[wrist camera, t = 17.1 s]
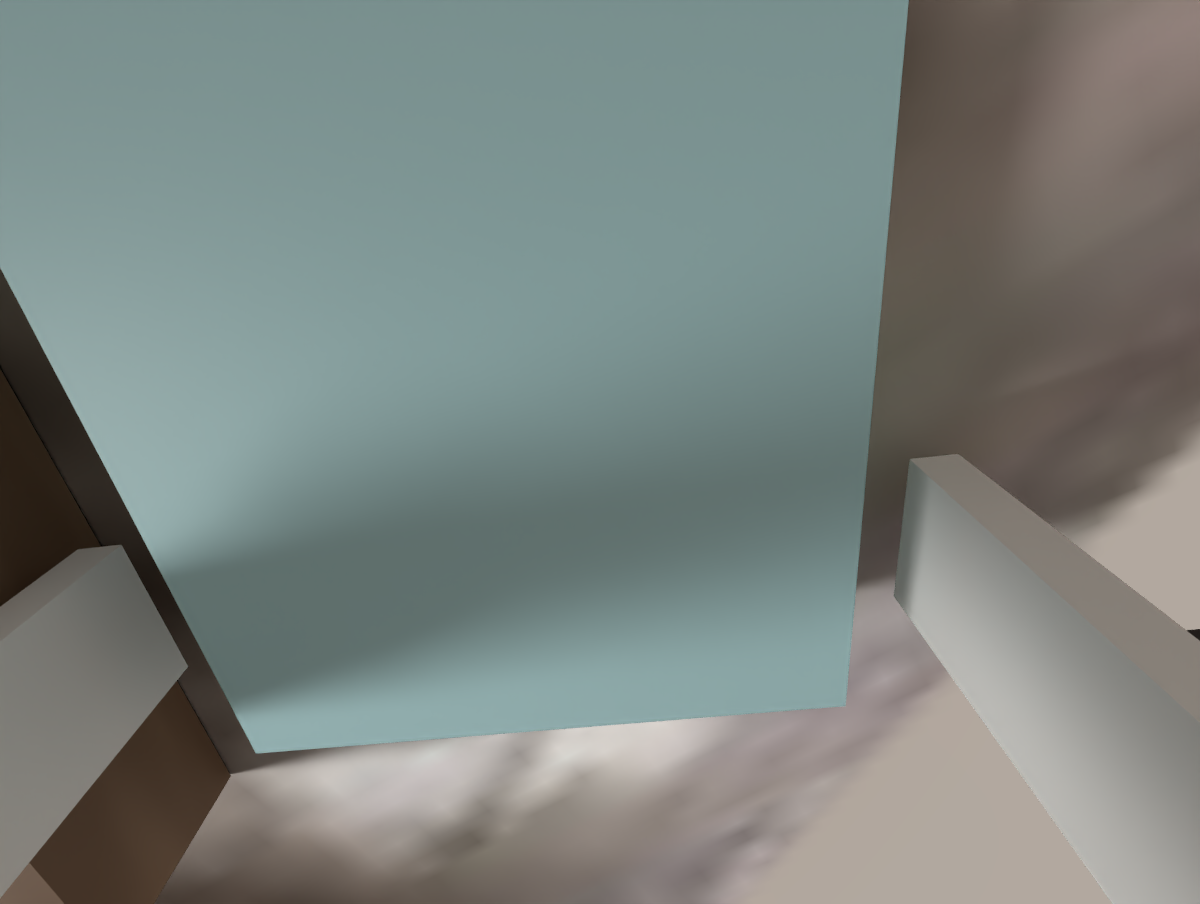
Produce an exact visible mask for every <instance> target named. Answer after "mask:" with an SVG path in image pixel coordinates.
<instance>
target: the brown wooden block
mask: <svg viewBox="0 0 1200 904" xmlns="http://www.w3.org/2000/svg"><path fill="white" fill-rule="evenodd" d="M95 547H101V546H100V544H99V542H98V541H97V539H96V537H95V535H94V533H93V532H92V530H91V528H90V526H89V525H88V523H87V521H86V519H85V518H84V516H83V514H82V512H81V510H80V509H79V507H78V505H77V503H76V502H75V500H74V498H73V496H72V495H71V493H70V491H69V489H68V488H67V486H66V484H65V482H64V480H63V479H62V477H61V475H60V473H59V472H58V470H57V468H56V466H55V465H54V463H53V461H52V459H51V457H50V456H49V454H48V452H47V450H46V449H45V447H44V445H43V443H42V442H41V440H40V438H39V436H38V435H37V433H36V431H35V429H34V427H33V426H32V424H31V422H30V420H29V419H28V417H27V415H26V413H25V412H24V410H23V408H22V406H21V404H20V403H19V401H18V399H17V397H16V396H15V394H14V392H13V390H12V389H11V387H10V385H9V383H8V382H7V380H6V378H5V376H4V374H3V373H2V371H1V369H0V607H1V606H2V605H3V604H5V603H6V602H7V601H9V600H10V599H11V598H13V597H14V596H15V595H17V594H18V593H19V592H21V591H22V590H24V589H25V588H26V587H28V586H29V585H30V584H32V583H33V582H34V581H36V580H37V579H38V578H40V577H41V576H42V575H44V574H45V573H47V572H48V571H49V570H51V569H52V568H53V567H55V566H56V565H57V564H59V563H60V562H61V561H63V560H64V559H65V558H67V557H68V556H70V555H71V554H72V553H74V552H75V551H76V550H78V549H86V548H95ZM230 776H231V775H230V774H229V772H228V770H227V768H226V767H225V765H224V763H223V761H222V760H221V758H220V756H219V754H218V753H217V751H216V749H215V747H214V745H213V744H212V742H211V740H210V738H209V737H208V735H207V733H206V731H205V730H204V728H203V726H202V724H201V722H200V721H199V719H198V717H197V715H196V714H195V712H194V710H193V708H192V707H191V705H190V703H189V701H188V700H187V698H186V696H185V694H184V692H183V691H182V689H181V687H180V685H179V684H178V682H177V681H176V682H175V683H174V685H173V686H172V687H171V688H170V690H169V691H168V692H167V693H166V695H165V696H164V697H163V698H162V699H161V701H160V702H159V703H158V704H157V706H156V707H155V708H154V709H153V711H152V712H151V713H150V714H149V715H148V717H147V718H146V719H145V720H144V722H143V723H142V724H141V725H140V727H139V728H138V729H137V730H136V732H135V733H134V734H133V735H132V736H131V738H130V739H129V740H128V741H127V743H126V744H125V745H124V746H123V748H122V749H121V750H120V751H119V752H118V754H117V755H116V756H115V757H114V759H113V760H112V761H111V762H110V764H109V765H108V766H107V767H106V769H105V770H104V771H103V772H102V773H101V775H100V776H99V777H98V778H97V780H96V781H95V782H94V783H93V785H92V786H91V787H90V788H89V789H88V791H87V792H86V793H85V794H84V796H83V797H82V798H81V799H80V801H79V802H78V803H77V804H76V806H75V807H74V808H73V809H72V810H71V812H70V813H69V814H68V815H67V817H66V818H65V819H64V820H63V822H62V823H61V824H60V825H59V826H58V828H57V829H56V830H55V831H54V833H53V834H52V835H51V836H50V838H49V839H48V840H47V841H46V843H45V844H44V845H43V846H42V847H41V849H40V850H39V851H38V852H37V854H36V855H35V856H34V857H33V859H32V860H31V861H30V862H29V863H28V865H27V866H26V867H25V868H24V870H23V871H22V872H21V873H20V875H19V876H18V877H17V878H16V879H15V881H14V882H13V883H12V884H11V886H10V887H9V888H8V889H7V891H6V892H5V893H4V894H3V896H2V897H1V898H0V904H154V903H155V901H156V899H157V898H158V896H159V894H160V893H161V891H162V889H163V888H164V886H165V884H166V883H167V881H168V879H169V878H170V876H171V874H172V873H173V871H174V869H175V868H176V866H177V864H178V863H179V861H180V859H181V858H182V856H183V854H184V853H185V851H186V849H187V848H188V846H189V844H190V843H191V841H192V839H193V838H194V836H195V835H196V833H197V831H198V830H199V828H200V826H201V825H202V823H203V821H204V820H205V818H206V816H207V815H208V813H209V811H210V810H211V808H212V806H213V805H214V803H215V801H216V800H217V798H218V796H219V795H220V793H221V791H222V790H223V788H224V786H225V785H226V783H227V781H228V780H229V778H230Z"/></svg>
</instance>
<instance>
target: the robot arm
mask: <svg viewBox="0 0 1200 904" xmlns="http://www.w3.org/2000/svg"><path fill="white" fill-rule="evenodd" d="M894 597H895V598H896V600H897V601H898V603H899V604H900V605H901V607H902V608H903V610H904V611H905V612H906V614H907V615H908V617H909V618H910V619H911V621H912V622H913V624H914V625H915V626H916V628H917V629H918V631H919V632H920V634H921V635H922V636H923V638H924V639H925V641H926V642H927V643H928V645H929V646H930V648H931V649H932V650H933V652H934V653H935V655H936V656H937V657H938V659H939V660H940V662H941V663H942V665H943V666H944V667H945V669H946V670H947V672H948V673H949V674H950V676H951V677H952V679H953V680H954V681H955V683H956V684H957V686H958V687H959V688H960V690H961V691H962V693H963V694H964V696H965V697H966V698H967V700H968V701H969V703H970V704H971V705H972V707H973V708H974V710H975V711H976V712H977V714H978V715H979V717H980V718H981V719H982V721H983V722H984V724H985V725H986V727H987V728H988V729H989V731H990V732H991V733H992V735H993V736H994V738H995V739H996V741H997V742H998V743H999V745H1000V746H1001V748H1002V749H1003V750H1004V752H1005V753H1006V755H1007V756H1008V757H1009V759H1010V760H1011V762H1012V763H1013V765H1014V766H1015V767H1016V769H1017V770H1018V772H1019V773H1020V774H1021V776H1022V777H1023V779H1024V780H1025V781H1026V783H1027V784H1028V786H1029V787H1030V789H1031V790H1032V791H1033V793H1034V794H1035V796H1036V797H1037V798H1038V800H1039V801H1040V802H1041V804H1042V805H1043V807H1044V808H1045V810H1046V811H1047V812H1048V814H1049V815H1050V817H1051V818H1052V820H1053V821H1054V822H1055V824H1056V825H1057V826H1058V828H1059V829H1060V831H1061V832H1062V834H1063V835H1064V836H1065V838H1066V839H1067V841H1068V842H1069V843H1070V845H1071V846H1072V847H1073V849H1074V851H1075V852H1076V853H1077V855H1078V856H1079V857H1080V859H1081V860H1082V862H1083V863H1084V864H1085V866H1086V867H1087V869H1088V870H1089V871H1090V873H1091V874H1092V876H1093V877H1094V879H1095V880H1096V882H1097V883H1098V884H1099V886H1100V887H1101V889H1102V890H1103V891H1104V893H1105V894H1106V896H1107V897H1108V898H1109V900H1110V901H1111V903H1112V904H1200V629H1196V630H1185V629H1184V628H1182V627H1181V626H1180V625H1178V624H1177V623H1176V622H1175V621H1173V620H1172V619H1171V618H1170V617H1168V616H1167V615H1166V614H1164V613H1163V612H1162V611H1161V610H1159V609H1158V608H1157V607H1155V606H1154V605H1153V604H1152V603H1150V602H1149V601H1147V600H1146V599H1145V598H1144V597H1142V596H1141V595H1140V594H1139V593H1137V592H1136V591H1135V590H1133V589H1132V588H1131V587H1130V586H1128V585H1127V584H1126V583H1124V582H1123V581H1122V580H1121V579H1119V578H1118V577H1117V576H1115V575H1114V574H1113V573H1111V572H1110V571H1109V570H1108V569H1106V568H1105V567H1104V566H1102V565H1101V564H1100V563H1098V562H1097V561H1096V560H1095V559H1093V558H1092V557H1091V556H1090V555H1088V554H1087V553H1086V552H1084V551H1083V550H1082V549H1080V548H1079V547H1078V546H1077V545H1075V544H1074V543H1073V542H1071V541H1070V540H1069V539H1068V538H1066V537H1065V536H1064V535H1062V534H1061V533H1060V532H1059V531H1057V530H1056V529H1055V528H1053V527H1052V526H1051V525H1050V524H1048V523H1047V522H1046V521H1044V520H1043V519H1042V518H1040V517H1039V516H1038V515H1037V514H1035V513H1034V512H1033V511H1031V510H1030V509H1029V508H1028V507H1026V506H1025V505H1024V504H1022V503H1021V502H1020V501H1019V500H1017V499H1016V498H1015V497H1013V496H1012V495H1011V494H1009V493H1008V492H1007V491H1006V490H1004V489H1003V488H1002V487H1000V486H999V485H998V484H997V483H995V482H994V481H993V480H991V479H990V478H989V477H988V476H986V475H985V474H984V473H982V472H981V471H980V470H978V469H977V468H976V467H975V466H973V465H972V464H971V463H969V462H968V461H967V460H966V459H964V458H963V457H962V456H960V455H959V454H952V455H943V456H934V457H924V458H915V459H910V461H909V470H908V478H907V487H906V496H905V504H904V513H903V521H902V530H901V538H900V547H899V555H898V564H897V573H896V581H895V590H894ZM187 667H188V665H187V663H186V662H185V660H184V658H183V656H182V654H181V653H180V651H179V649H178V647H177V645H176V643H175V642H174V640H173V638H172V636H171V634H170V632H169V631H168V629H167V627H166V625H165V623H164V621H163V620H162V618H161V616H160V614H159V612H158V611H157V609H156V607H155V605H154V603H153V601H152V600H151V598H150V596H149V594H148V592H147V590H146V589H145V587H144V585H143V583H142V581H141V580H140V578H139V576H138V574H137V572H136V570H135V569H134V567H133V565H132V563H131V561H130V559H129V558H128V556H127V554H126V552H125V550H124V548H123V547H122V545H114V546H104V547H95V548H86V549H78V550H76V551H75V552H74V553H72V554H71V555H70V556H68V557H67V558H65V559H64V560H63V561H61V562H60V563H59V564H57V565H56V566H55V567H53V568H52V569H51V570H49V571H48V572H47V573H45V574H44V575H42V576H41V577H40V578H38V579H37V580H36V581H34V582H33V583H32V584H30V585H29V586H28V587H26V588H25V589H24V590H22V591H21V592H19V593H18V594H17V595H15V596H14V597H13V598H11V599H10V600H9V601H7V602H6V603H5V604H3V605H2V606H1V607H0V898H1V897H2V896H3V894H4V893H5V892H6V891H7V889H8V888H9V887H10V886H11V884H12V883H13V882H14V881H15V879H16V878H17V877H18V876H19V875H20V873H21V872H22V871H23V870H24V868H25V867H26V866H27V865H28V863H29V862H30V861H31V860H32V859H33V857H34V856H35V855H36V854H37V852H38V851H39V850H40V849H41V847H42V846H43V845H44V844H45V843H46V841H47V840H48V839H49V838H50V836H51V835H52V834H53V833H54V831H55V830H56V829H57V828H58V826H59V825H60V824H61V823H62V822H63V820H64V819H65V818H66V817H67V815H68V814H69V813H70V812H71V810H72V809H73V808H74V807H75V806H76V804H77V803H78V802H79V801H80V799H81V798H82V797H83V796H84V794H85V793H86V792H87V791H88V789H89V788H90V787H91V786H92V785H93V783H94V782H95V781H96V780H97V778H98V777H99V776H100V775H101V773H102V772H103V771H104V770H105V769H106V767H107V766H108V765H109V764H110V762H111V761H112V760H113V759H114V757H115V756H116V755H117V754H118V752H119V751H120V750H121V749H122V748H123V746H124V745H125V744H126V743H127V741H128V740H129V739H130V738H131V736H132V735H133V734H134V733H135V732H136V730H137V729H138V728H139V727H140V725H141V724H142V723H143V722H144V720H145V719H146V718H147V717H148V715H149V714H150V713H151V712H152V711H153V709H154V708H155V707H156V706H157V704H158V703H159V702H160V701H161V699H162V698H163V697H164V696H165V695H166V693H167V692H168V691H169V690H170V688H171V687H172V686H173V685H174V683H175V682H176V681H177V680H178V678H179V677H180V676H181V675H182V674H183V672H184V671H185V670H186V669H187Z"/></svg>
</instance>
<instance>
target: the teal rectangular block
mask: <svg viewBox="0 0 1200 904" xmlns="http://www.w3.org/2000/svg"><path fill="white" fill-rule="evenodd" d="M908 3H909V0H0V268H1V270H2V272H3V274H4V276H5V278H6V280H7V282H8V284H9V286H10V287H11V289H12V291H13V293H14V295H15V297H16V299H17V301H18V303H19V305H20V306H21V308H22V310H23V312H24V314H25V316H26V318H27V320H28V322H29V324H30V325H31V327H32V329H33V331H34V333H35V335H36V337H37V339H38V341H39V342H40V344H41V346H42V348H43V350H44V352H45V354H46V356H47V358H48V360H49V361H50V363H51V365H52V367H53V369H54V371H55V373H56V375H57V377H58V379H59V380H60V382H61V384H62V386H63V388H64V390H65V392H66V394H67V396H68V398H69V399H70V401H71V403H72V405H73V407H74V409H75V411H76V413H77V415H78V417H79V418H80V420H81V422H82V424H83V426H84V428H85V430H86V432H87V434H88V436H89V437H90V439H91V441H92V443H93V445H94V447H95V449H96V451H97V453H98V455H99V456H100V458H101V460H102V462H103V464H104V466H105V468H106V470H107V472H108V474H109V475H110V477H111V479H112V481H113V483H114V485H115V487H116V489H117V491H118V493H119V494H120V496H121V498H122V500H123V502H124V504H125V506H126V508H127V510H128V512H129V513H130V515H131V517H132V519H133V521H134V523H135V525H136V527H137V529H138V531H139V532H140V534H141V536H142V538H143V540H144V542H145V544H146V546H147V548H148V549H149V551H150V553H151V555H152V557H153V559H154V561H155V563H156V565H157V567H158V568H159V570H160V572H161V574H162V576H163V578H164V580H165V582H166V584H167V586H168V587H169V589H170V591H171V593H172V595H173V597H174V599H175V601H176V603H177V605H178V606H179V608H180V610H181V612H182V614H183V616H184V618H185V620H186V622H187V624H188V625H189V627H190V629H191V631H192V633H193V635H194V637H195V639H196V641H197V643H198V644H199V646H200V648H201V650H202V652H203V654H204V656H205V658H206V660H207V662H208V663H209V665H210V667H211V669H212V671H213V673H214V675H215V677H216V679H217V681H218V682H219V684H220V686H221V688H222V690H223V692H224V694H225V696H226V698H227V700H228V701H229V703H230V705H231V707H232V709H233V711H234V713H235V715H236V717H237V719H238V720H239V722H240V724H241V726H242V728H243V730H244V732H245V734H246V736H247V737H248V739H249V741H250V743H251V745H252V747H253V749H254V751H255V753H269V752H281V751H294V750H306V749H319V748H331V747H343V746H356V745H368V744H381V743H393V742H405V741H418V740H430V739H443V738H455V737H467V736H480V735H492V734H505V733H517V732H530V731H542V730H554V729H567V728H579V727H592V726H604V725H616V724H629V723H641V722H654V721H666V720H679V719H691V718H703V717H716V716H728V715H741V714H753V713H765V712H778V711H790V710H803V709H815V708H827V707H840V706H846V695H847V684H848V673H849V661H850V650H851V639H852V628H853V617H854V606H855V594H856V583H857V572H858V561H859V550H860V539H861V527H862V516H863V505H864V494H865V483H866V472H867V460H868V449H869V438H870V427H871V416H872V405H873V393H874V382H875V371H876V360H877V349H878V338H879V327H880V315H881V304H882V293H883V282H884V271H885V260H886V248H887V237H888V226H889V215H890V204H891V193H892V181H893V170H894V159H895V148H896V137H897V126H898V114H899V103H900V92H901V81H902V70H903V59H904V47H905V36H906V25H907V14H908Z"/></svg>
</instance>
